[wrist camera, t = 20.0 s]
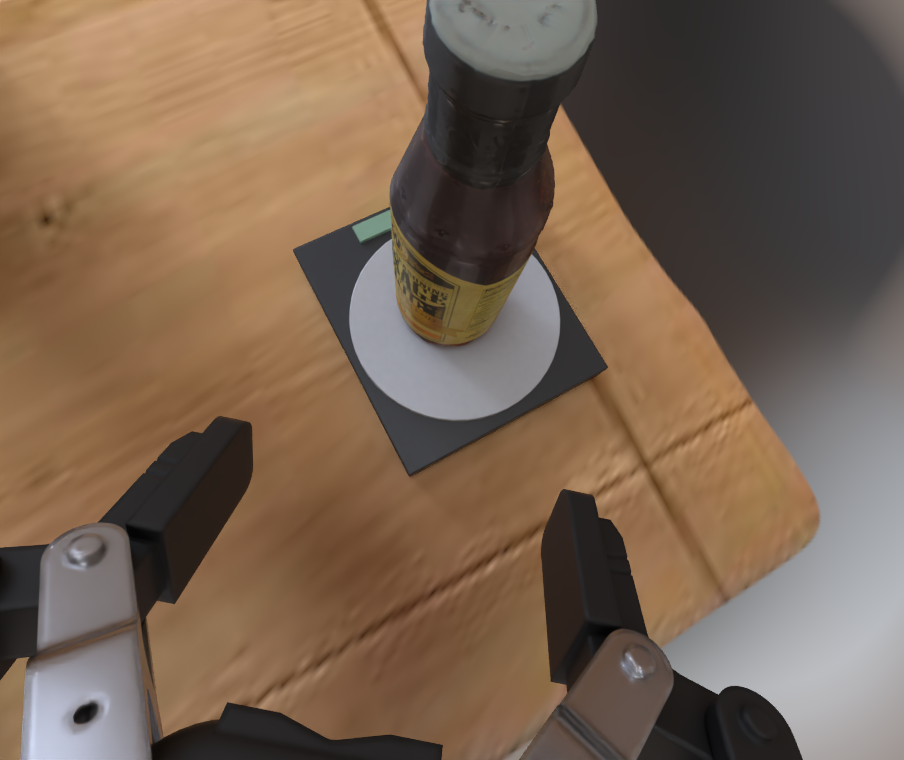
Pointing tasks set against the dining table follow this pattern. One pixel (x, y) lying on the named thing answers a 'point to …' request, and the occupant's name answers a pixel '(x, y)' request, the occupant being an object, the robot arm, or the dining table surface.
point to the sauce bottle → (481, 157)
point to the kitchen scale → (444, 347)
